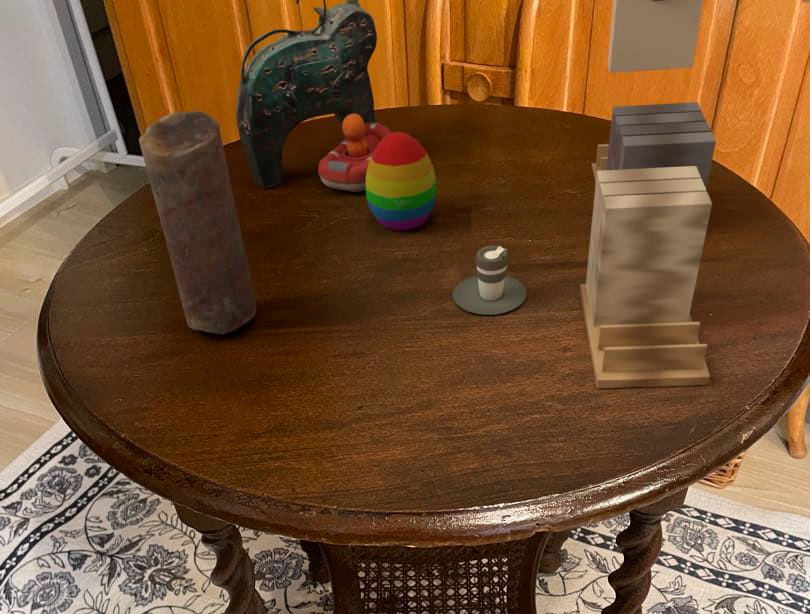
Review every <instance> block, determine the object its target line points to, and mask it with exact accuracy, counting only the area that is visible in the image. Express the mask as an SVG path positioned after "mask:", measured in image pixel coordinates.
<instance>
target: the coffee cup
mask: <svg viewBox="0 0 810 614" xmlns="http://www.w3.org/2000/svg"><path fill="white" fill-rule="evenodd" d="M474 262H475V266H476V275H473V276H470V277H467V278H465V279H464V280H461V281H460V282H458V283H457V284H456V286H455V287H454V289H453V291H452V295H451V296H452V300H453V301H454V303H455V304H456V305H457V306H458V307H459V308H460V309H461V310H464V311H466V312H469V313H472V314H475V315H482V316H496V315H501V314H506V313H509V312H512V311H514V310H516V309H518V308H519V307H520V306H522V305H523V304H524V303H525V301H526V299H527V296H528V292H527V288H526V286H525V285H524V283H522V282H521V281H520V280H519V279H517V278H514V277H512V276H509V275H508V265H509V264H510V263H509V262H510V259H509V254H508V250H507V248H504V247H502V246H501V245H499V246H498V245H487V246H484V247H481V248H479V250H477V252H476V255H475V258H474Z"/></svg>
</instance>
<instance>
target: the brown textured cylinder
mask: <svg viewBox="0 0 810 614" xmlns="http://www.w3.org/2000/svg"><path fill="white" fill-rule="evenodd" d="M138 142H139V146H140V151H141V154H142V158H143V162H144V165H145V169H146V172H147V177H148V180H149V184H150V188H151V191H152V194H153V198H154V202H155V207H156V210H157V213H158V217H159V221H160V224H161V228H162V231H163V235H164V239H165V244H166V247H167V250H168V255H169V258H170V262H171V266H172V270H173V274H174V278H175V281H176V285H177V290H178V293H179V298H180V301H181V305H182V309H183V311H184V312H183V313H184V316H185V320H186V323H187V326H188V328H190V329H192V330H194V331H202V332H205V333H210V334H217V335H219V334H220V335H226V334H227V333H231V332H234V331H236V330H238V329H239V328H240V327H241V326H243V325H245V324H246V323H248V322H250V321H251V320H252V319H253V318H254V317H256V313H257V303H256V297H255V292H254V288H253V282H252V277H251V273H250V268H249V263H248V259H247V253H246V249H245V243H244V240H243V236H242V232H241V231H242V230H241V227H240V222H239V217H238V212H237V208H236V203H235V198H234V193H233V189H232V183H231V178H230V173H229V168H228V164H227V157H226V153H225V149H224V148H225V147H224V144H223V140H222V134H221V129H220V124H219V122H218V119H216V118H215V117H213V116H212V115H210V114H207V113H206V112H202V111H199V110H193V111H181V112H180V111H176V112H171V113H170V114H167V115H164V116H163V117H161V118H159V119H158V120H155V121H154V122H152V123H151V124H150V125H148V127H147V128H146V129H145V132H144V134H142V135H141V136H139V138H138Z"/></svg>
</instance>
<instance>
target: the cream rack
mask: <svg viewBox="0 0 810 614" xmlns="http://www.w3.org/2000/svg"><path fill="white" fill-rule="evenodd" d="M594 187H595V188H594V198H593V207H592V217H591V228H590V239H589V247H588V256H587V257H588V258H587V269H586V278H585V283H580V284H579V296H580V301H581V307H582V308H581V309H582V314H583V319H584V324H585V330H586V335H587V341H588V347H589V352H590V359H591V364H592V370H593V375H594V380H595V386H596V389H624V388H653V387H654V388H657V387H684V386H686V387H687V386H708V385H709V383H710V380H711V375H710V374H711V373H710V372H709V368H708V365H707V362H706V355H707V351H708V344H707V343H700V341H699V333H700V327H701V322H700V321H693V319H692V316H691V309H692V303H693V298H694V295H695V294H694V293H695V289H696V285H697V279H698V275H699V274H698V273H699V269H700V264H701V260H702V254H703V250H704V246H705V241H706V235H707V231H708V226H709V221H710V216H711V211H712V207H713V202H712V200H711V197H710V195H709V192H708V191H707V188H705V186H704V183H703V181H702V179H701V176H700V174H699V171H698V169H697V167H696V166H685V167H665V168H645V169H625V170H605V171H597V176H596V181H595V186H594Z"/></svg>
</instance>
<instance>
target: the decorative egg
mask: <svg viewBox="0 0 810 614" xmlns="http://www.w3.org/2000/svg"><path fill="white" fill-rule="evenodd" d="M436 178H437V177H436V173H435V168H434V165H433V163H432V161H431V158H430V156H429V155H428V153H427V151H426V149H425V148H424V147H423V146H422V145H421V143H420V142H419V141H418V140H417V139H416V138H414V137H413V136H412V135H410V134H409V133H405V132H401V131H395V132H392V133H391V134H389V135H387V136H386V137H385V138H383V139H382V140H381V142H380V143H379V144H378V145H377V147H376V148H375V150H374V152H373V154H372V156H371V158H370V161H369V164H368V168H367V173H366V190H365V196H366V201H367V204H368V206H369V210H370V212H371V213H372V215H373V216H374V218H375V219H376V221H377V222H378V223H379V224H380V225H382V227H385V228H386V229H389V230H393V231H408V230H409V231H410V230H413V229H417V228H419V227H420V226H422V225H423V224H424V223H425V222H426V221H427V220H428V219H429V217H430V215H431V214H432V211H433V209H434V207H435V203H436V198H437V179H436Z"/></svg>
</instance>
